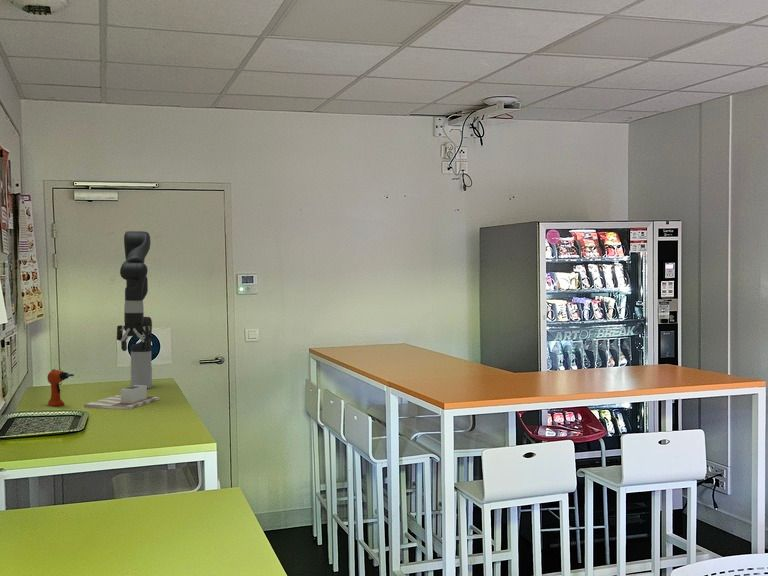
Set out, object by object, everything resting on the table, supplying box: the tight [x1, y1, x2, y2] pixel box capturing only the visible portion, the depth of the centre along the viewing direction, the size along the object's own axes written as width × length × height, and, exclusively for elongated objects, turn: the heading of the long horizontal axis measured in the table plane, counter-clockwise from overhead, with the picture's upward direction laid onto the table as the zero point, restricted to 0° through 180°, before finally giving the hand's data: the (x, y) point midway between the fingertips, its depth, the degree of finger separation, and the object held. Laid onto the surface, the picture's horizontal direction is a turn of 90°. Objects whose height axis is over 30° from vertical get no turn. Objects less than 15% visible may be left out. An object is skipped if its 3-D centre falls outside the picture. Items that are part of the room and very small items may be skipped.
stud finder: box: [120, 385, 148, 403], centre depth 318 cm, size 12×5×6 cm, turn 168°
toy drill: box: [47, 368, 75, 408], centre depth 311 cm, size 5×19×15 cm, turn 51°
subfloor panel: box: [83, 394, 160, 411], centre depth 319 cm, size 24×20×1 cm
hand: (134, 351), depth 318 cm, fingers open, 8 cm apart
